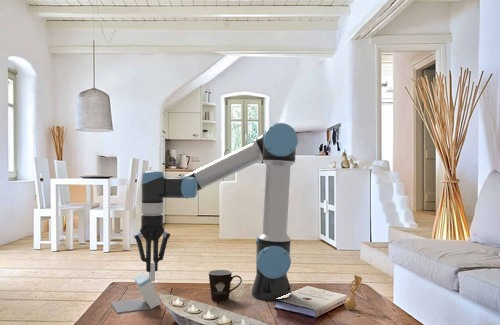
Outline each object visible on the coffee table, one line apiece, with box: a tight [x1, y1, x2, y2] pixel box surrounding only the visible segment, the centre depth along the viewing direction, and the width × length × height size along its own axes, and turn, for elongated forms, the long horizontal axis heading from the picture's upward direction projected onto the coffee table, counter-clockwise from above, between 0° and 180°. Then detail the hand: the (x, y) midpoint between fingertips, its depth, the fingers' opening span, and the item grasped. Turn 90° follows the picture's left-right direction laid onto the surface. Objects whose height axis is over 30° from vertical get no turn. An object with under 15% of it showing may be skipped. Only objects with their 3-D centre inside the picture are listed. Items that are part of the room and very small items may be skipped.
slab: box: [133, 272, 162, 310], centre depth 165 cm, size 4×9×10 cm, turn 26°
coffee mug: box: [208, 269, 243, 303], centre depth 172 cm, size 12×9×10 cm
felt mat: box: [110, 298, 151, 314], centre depth 164 cm, size 11×13×1 cm
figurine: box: [344, 274, 363, 311], centre depth 161 cm, size 8×6×12 cm
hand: (151, 280), depth 166 cm, fingers closed
